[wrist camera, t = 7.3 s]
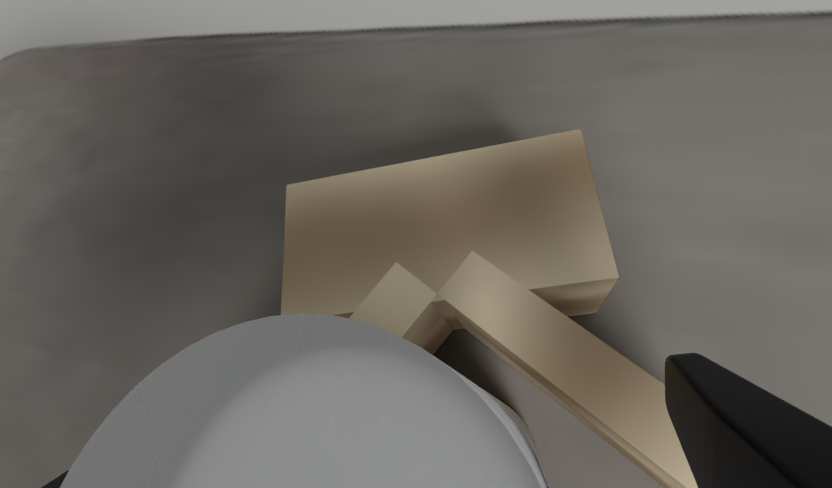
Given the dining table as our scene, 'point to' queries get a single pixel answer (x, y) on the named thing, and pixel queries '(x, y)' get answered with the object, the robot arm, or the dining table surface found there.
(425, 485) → the axle
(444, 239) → the v block
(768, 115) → the dining table surface
